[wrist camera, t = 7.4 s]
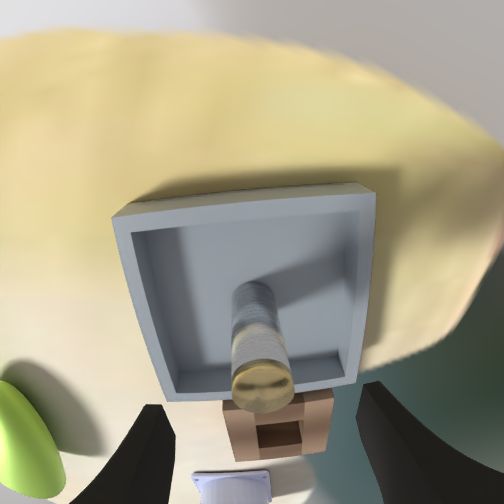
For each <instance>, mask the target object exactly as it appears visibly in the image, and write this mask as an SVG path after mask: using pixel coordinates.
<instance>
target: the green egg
mask: <svg viewBox="0 0 504 504" xmlns="http://www.w3.org/2000/svg"><path fill="white" fill-rule="evenodd" d="M0 482H1V483H2V484H4V485H5V486H7V487H8V488H10V489H12V490H14V491H16V492H18V493H21V494H24V495H26V496H29V497H33V498H39V499H48V498H52V497H55V496H57V495H58V494H59V493H60V492H61V491H62V490H63V488H64V487H65V484H66V475H65V471H64V467H63V464H62V460H61V457H60V454H59V452H58V449H57V447H56V444H55V442H54V440H53V438H52V436H51V434H50V432H49V430H48V428H47V427H46V425H45V423H44V422H43V420H42V419H41V417H40V416H39V414H38V413H37V411H36V410H35V409H34V407H33V406H32V405H31V403H30V402H29V401H28V400H27V399H26V397H25V396H24V395H23V394H22V393H21V392H20V391H19V390H17V389H16V388H15V387H14V386H12V385H11V384H9V383H7V382H5V381H1V380H0Z"/></svg>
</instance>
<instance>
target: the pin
mask: <svg viewBox="0 0 504 504" xmlns="http://www.w3.org/2000/svg"><path fill="white" fill-rule="evenodd" d="M231 368H232V399H233V401H234V403H235V404H236V405H237V406H238V407H239V408H241V409H243V410H245V411H248V412H252V413H269V412H273V411H277V410H279V409H281V408H283V407H285V406H286V405H287V404H289V403H290V401H291V400H292V399H293V397H294V394H295V388H294V383H293V378H292V374H291V369H290V365H289V360H288V355H287V351H286V346H285V342H284V337H283V333H282V328H281V324H280V319H279V315H278V310H277V306H276V301H275V297H274V293H273V291H272V290H271V288H270V287H269V286H268V285H266V284H264V283H262V282H258V281H249V282H245V283H243V284H241V285H239V286H238V287H237V288H236V289H235V290H234V292H233V294H232V297H231Z"/></svg>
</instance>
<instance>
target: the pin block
mask: <svg viewBox="0 0 504 504" xmlns="http://www.w3.org/2000/svg"><path fill="white" fill-rule="evenodd" d="M333 404H334V395H333V392H332V389H331V388H325V389H319V390H312V391H306V392H299V393H295V394H294V397H293V399H292V400H291V401H290V403H289V404H287V405H286V406H285V407H283V408H281V409H279V410H277V411H273V412H269V413H252V412H248V411H245V410H243V409H241V408H239V407H238V406H237V405H236V404H235V403H234V401H233V399H229V400H223V415H224V419H225V423H226V427H227V431H228V435H229V438H230V442H231V446H232V450H233V454H234V457H235V461H236V462H239V461H254V460H265V459H275V458H283V457H291V456H298V455H305V454H311V453H317V452H323V451H325V450H326V445H327V439H328V434H329V428H330V422H331V416H332V410H333Z"/></svg>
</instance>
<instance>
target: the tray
mask: <svg viewBox="0 0 504 504" xmlns="http://www.w3.org/2000/svg"><path fill="white" fill-rule="evenodd" d="M375 215H376V193H375V192H374V191H372V190H370V189H368V188H367V187H365V186H363V185H361V184H359V183H358V182H349V183H329V184H311V185H296V186H282V187H269V188H257V189H246V190H235V191H225V192H216V193H206V194H197V195H189V196H180V197H172V198H165V199H157V200H149V201H142V202H135V203H128V204H127V205H125V206H124V207H123V208H122V209H121V210H120V211H118V212H117V213H116V214H115V215H114V216H113V217H112V218H111V219H112V224H113V228H114V233H115V237H116V242H117V246H118V250H119V254H120V258H121V262H122V266H123V270H124V274H125V277H126V281H127V285H128V288H129V292H130V295H131V299H132V302H133V306H134V309H135V312H136V316H137V319H138V322H139V325H140V328H141V331H142V334H143V337H144V340H145V343H146V346H147V349H148V352H149V355H150V358H151V361H152V363H153V366H154V369H155V372H156V374H157V377H158V380H159V382H160V385H161V388H162V390H163V393H164V395H165V398H166V400H167V402H179V401H212V400H229V399H232V368H231V297H232V294H233V292H234V290H235V289H236V288H237V287H238V286H239V285H241V284H243V283H245V282H249V281H258V282H262V283H264V284H266V285H268V286H269V287H270V288H271V290H272V291H273V293H274V297H275V301H276V306H277V310H278V315H279V319H280V324H281V328H282V333H283V337H284V342H285V346H286V351H287V355H288V360H289V365H290V369H291V374H292V378H293V383H294V388H295V393H299V392H306V391H312V390H319V389H325V388H331V387H337V386H342V385H347V384H353V383H356V379H357V373H358V368H359V362H360V356H361V350H362V344H363V338H364V331H365V324H366V317H367V309H368V301H369V292H370V283H371V272H372V261H373V249H374V234H375Z"/></svg>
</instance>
